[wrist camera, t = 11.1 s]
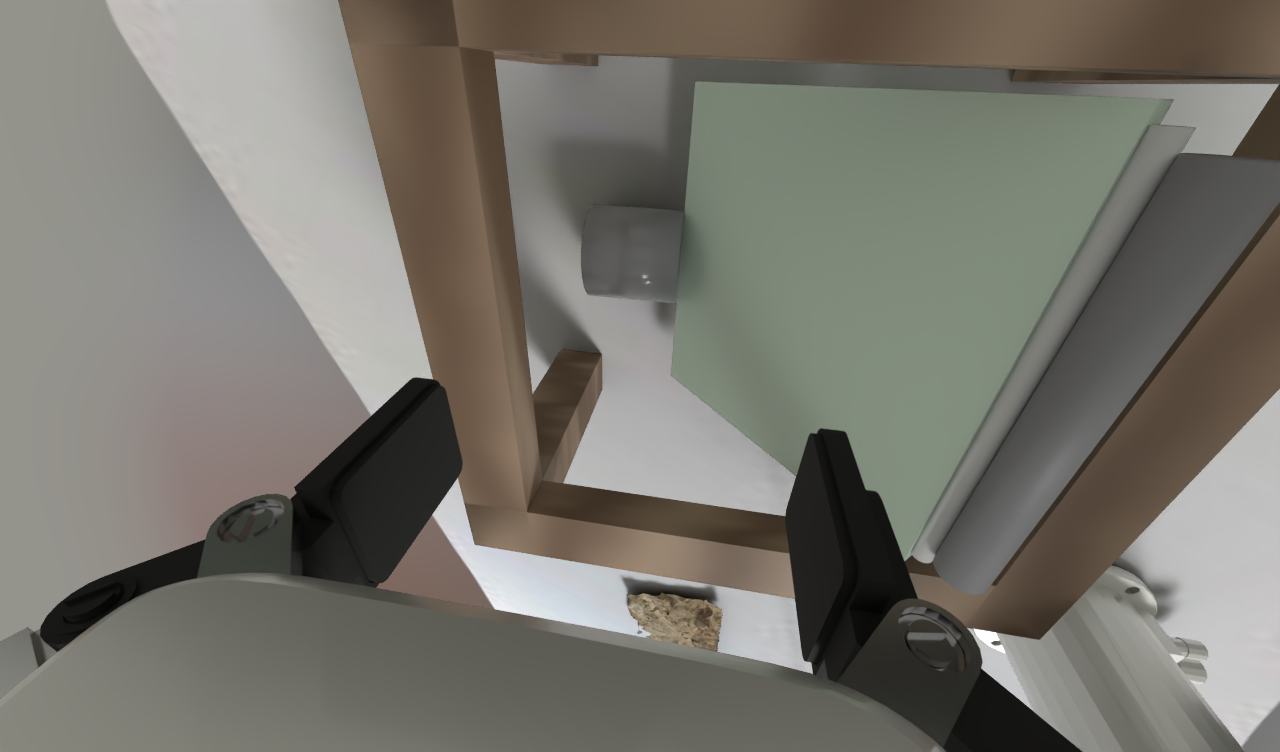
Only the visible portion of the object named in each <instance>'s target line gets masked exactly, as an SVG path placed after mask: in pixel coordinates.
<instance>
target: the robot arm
mask: <svg viewBox="0 0 1280 752" xmlns="http://www.w3.org/2000/svg"><path fill="white" fill-rule="evenodd" d="M462 466H463V461H462V456H461V452H460V448H459V444H458V439H457V435H456V431H455V427H454V422H453V418H452V414H451V410H450V406H449V401H448V397H447V393H446V390H445V388H444V387H443V386H441V385H440V383H439V382H438V381H437V380H433V379H425V378H417V377H416V378H412V379H411V380H410V381H409V382H407V383H406V384H405V385H404V386H403V387H402V388H401V389H400V390H399V391H398V392H397V393H396V394H395V395H393V396H392V397H391V398H390V399H389V400H388V401H387V402H386V403H385V404H384V405H383V406H382V407H381V408H379V409H378V410H377V411H376V412H375V413H374V414H373V415H372V416H371V417H370V418H369V419H368V420H366V421H365V422H364V423H363V424H362V425H361V426H360V427H359V428H358V429H357V430H356V431H355V432H354V433H352V434H351V435H350V436H349V437H348V438H347V439H346V440H345V441H344V442H343V443H342V444H341V445H340V446H338V447H337V448H336V449H335V450H334V451H333V452H332V453H331V454H330V455H329V456H328V457H327V458H325V460H323V461H322V462H321V463H320V464H319V465H318V466H317V467H316V468H315V469H314V470H313V471H311V472H310V474H308V475H307V476H306V477H305V478H304V479H303V480H302V481H301V482H300V483H299V484H297V485H296V486H295V487H294V488H295V490H296V492H297V493H296V495H294V496H293V497H292V498H291V499H289V498H288V497H287V496H284V495H280V494H265V495H260V496H255V497H252V498H250V499H247V500H244V501H242V502H240V503H238V504H236V505H235V506H233V507H231V508H229V509H228V510H226V511H225V512H224V513H223V514H221V515H220V516H219V517H218V518H217V519H216V520H215V521H214V523H212V525H211V526H210V528H209V530H208V532H207V535H206V539H205V540H203V541H200V542H197V543H194V544H192V545H189V546H186V547H183V548H181V549H178V550H175V551H173V552H170V553H167V554H164V555H162V556H159V557H156V558H154V559H151V560H148V561H145V562H143V563H140V564H137V565H134V566H131V567H129V568H126V569H123V570H120V571H118V572H115V573H112V574H110V575H107V576H104V577H102V578H100V579H97V580H95V581H93V582H91V583H88V584H87V585H85V586H83V587H82V588H80V589H78V590H77V591H75V592H74V593H72V594H70V595H69V596H68V597H67V598H66V599H64V600H63V601H61V602H60V603H59V604H58V605H57V606H56V607H55V608H54V609H53V610H52V611H51V612H50V613H49V614H48V615H47V617H46V618H45V620H44V622H43V624H42V625H41V628H40V629H39V630H37V631H35V632H34V631H33V630H31V629H30V628H29V627H27V628H25V629H23V630H21V631H19V632H17V633H15V634H13V635H12V636H10V637H8V638H6V639H4V640H2V641H0V752H1245V751H1244V750H1243V749H1242V747H1241V746H1240V745H1239V743H1238V742H1237V741H1236V740H1235V738H1234V737H1233V736H1232V734H1231V733H1230V732H1229V730H1228V729H1227V728H1226V727H1225V725H1224V724H1223V723H1222V721H1221V720H1220V719H1219V718H1218V716H1217V715H1216V714H1215V712H1214V711H1213V710H1212V708H1211V707H1210V706H1209V705H1208V703H1207V702H1206V701H1205V699H1204V698H1203V697H1202V696H1201V694H1200V693H1199V692H1198V690H1197V689H1196V688H1195V686H1194V685H1193V684H1199V685H1201V684H1203V683H1205V682H1206V679H1207V674H1206V670H1205V668H1204V667H1203V665H1202V664H1201V663H1200V662H1199V661H1205V660H1207V658H1208V651H1207V649H1206V647H1205V646H1204V645H1203V644H1202V643H1201V642H1199V641H1195V640H1190V639H1184V638H1178V637H1176V638H1172V637H1169V636H1168V635H1167V634H1166V633H1165V632H1164V630H1163V629H1162V628H1161V627H1160V625H1159V624H1158V623H1157V622H1156V620H1155V619H1154V618H1155V616H1156V614H1157V602H1156V600H1155V597H1154V595H1153V594H1152V593H1151V591H1150V590H1149V589H1148V588H1147V586H1146V585H1145V584H1144V583H1143V582H1142V581H1141V580H1140V579H1139V578H1137V577H1136V576H1135V575H1134V574H1132V573H1130V572H1128V571H1126V570H1124V569H1122V568H1120V567H1116V566H1113V565H1111V566H1110V567H1109V568H1108V569H1107V570H1106V571H1105V572H1104V573H1103V574H1102V575H1101V576H1100V577H1099V578H1098V580H1097V581H1096V582H1095V583H1094V584H1093V585H1092V586H1091V587H1090V588H1089V589H1088V590H1087V591H1086V592H1085V593H1084V594H1083V595H1082V596H1081V597H1080V598H1079V599H1078V600H1077V602H1076V603H1075V604H1074V605H1073V606H1072V607H1071V608H1070V609H1069V610H1068V611H1067V612H1066V613H1065V614H1064V615H1063V616H1062V617H1061V618H1060V619H1059V620H1058V621H1057V622H1056V624H1055V625H1054V626H1053V627H1052V628H1051V629H1050V630H1049V631H1048V632H1047V633H1046V634H1045V635H1044V636H1043V637H1042V638H1041V639H1040V640H1036V639H1030V638H1025V637H1019V636H1013V635H1007V634H1001V633H995V632H989V631H983V630H977V629H973V631H974V633H975V635H976V636H977V637H978V638H979V639H980V640H981V641H982V642H984V643H985V644H987V645H988V646H990V647H992V648H994V649H997V650H999V651H1001V652H1004V653H1006V655H1007V657H1008V660H1009V662H1010V664H1011V666H1012V668H1013V670H1014V672H1015V674H1016V676H1017V678H1018V680H1019V682H1020V684H1021V686H1022V688H1023V690H1024V693H1025V695H1026V697H1027V699H1028V701H1029V703H1030V705H1031V707H1032V709H1033V711H1032V710H1031V709H1030V708H1029V707H1027V706H1026V705H1025V704H1024V703H1023V702H1021V701H1020V700H1019V699H1018V698H1016V697H1015V696H1014V695H1013V694H1012V693H1010V692H1009V691H1008V690H1007V689H1005V688H1004V687H1003V686H1002V685H1001V684H999V683H998V682H997V681H996V680H994V679H993V678H992V677H991V676H990V675H988V674H987V673H986V672H985V671H983V670H982V669H981V667H982V657H981V652H980V648H979V646H978V644H977V642H976V641H975V639H974V637H973V635H972V634H971V633H970V631H969V630H968V629H967V628H966V627H965V625H964V624H963V623H962V622H961V621H960V620H958V619H957V618H956V617H955V616H954V615H953V614H951V613H950V612H949V611H947V610H945V609H943V608H942V607H940V606H938V605H937V604H934V603H931V602H928V601H925V600H922V599H918V597H917V594H916V591H915V589H914V586H913V583H912V580H911V578H910V575H909V572H908V570H907V567H906V564H905V561H904V559H903V556H902V553H901V550H900V548H899V545H898V542H897V540H896V537H895V534H894V531H893V529H892V526H891V523H890V520H889V518H888V515H887V512H886V510H885V507H884V504H883V501H882V499H881V497H880V495H879V494H878V493H877V492H876V491H871V490H866V489H865V486H864V483H863V480H862V477H861V474H860V471H859V468H858V465H857V462H856V459H855V456H854V453H853V451H852V448H851V445H850V442H849V439H848V436H847V433H846V432H845V431H840V430H832V429H824V428H820V429H819V430H818V432H817V434H815V433H810V434H809V436H808V439H807V443H806V446H805V449H804V453H803V456H802V459H801V463H800V466H799V469H798V473H797V476H796V479H795V482H794V486H793V489H792V492H791V496H790V499H789V502H788V506H787V509H786V517H785V523H786V531H787V539H788V547H789V555H790V563H791V571H792V578H793V586H794V594H795V602H796V610H797V618H798V625H799V633H800V641H801V649H802V655H803V659H804V661H807V662H812V669H813V674H811V673H807V672H803V671H799V670H795V669H791V668H788V667H784V666H780V665H776V664H772V663H768V662H763V661H758V660H753V659H749V658H744V657H739V656H734V655H729V654H725V653H720V652H715V651H710V650H705V649H701V648H696V647H691V646H685V645H680V644H675V643H670V642H664V641H659V640H654V639H649V638H644V637H638V636H633V635H628V634H623V633H617V632H612V631H607V630H602V629H597V628H591V627H586V626H581V625H575V624H570V623H565V622H559V621H554V620H548V619H543V618H538V617H532V616H527V615H522V614H516V613H511V612H505V611H500V610H495V609H489V608H484V607H478V606H473V605H468V604H461V603H457V602H451V601H445V600H440V599H434V598H429V597H423V596H418V595H412V594H407V593H401V592H395V591H389V590H384V589H379V588H376V587H377V586H378V584H379V583H383V582H384V581H386V580H387V579H388V578H389V576H390V575H391V573H392V572H393V571H394V569H395V568H396V566H397V565H398V563H399V562H400V560H401V559H402V558H403V556H404V555H405V553H406V552H407V550H408V549H409V547H410V546H411V544H412V543H413V542H414V540H415V539H416V537H417V536H418V534H419V533H420V531H421V530H422V529H423V527H424V525H425V524H426V523H427V521H428V520H429V518H430V517H431V516H432V514H433V513H434V511H435V510H436V508H437V507H438V505H439V504H440V503H441V501H442V500H443V498H444V497H445V495H446V494H447V492H448V491H449V489H450V488H451V487H452V485H453V484H454V482H455V481H456V479H457V478H458V476H459V475H460V473H461V470H462ZM1192 683H1193V684H1192Z"/></svg>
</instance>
